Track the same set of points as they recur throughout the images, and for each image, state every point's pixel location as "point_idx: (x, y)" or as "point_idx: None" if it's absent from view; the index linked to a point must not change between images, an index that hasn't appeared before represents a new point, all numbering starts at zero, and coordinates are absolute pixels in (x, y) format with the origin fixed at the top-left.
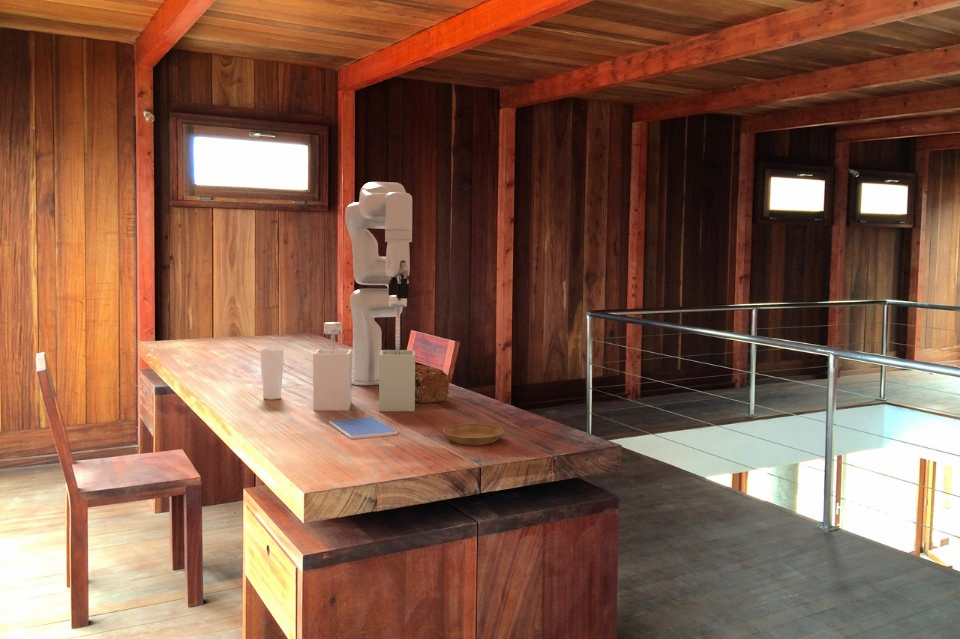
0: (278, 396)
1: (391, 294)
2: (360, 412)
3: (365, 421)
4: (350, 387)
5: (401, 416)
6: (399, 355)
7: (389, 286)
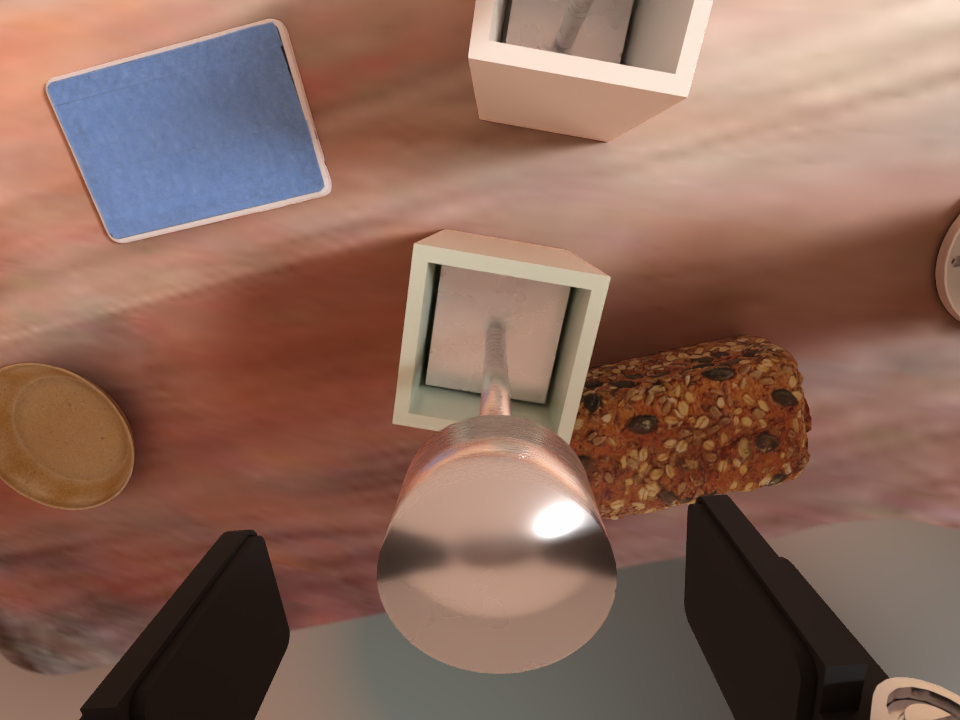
0: None
1: (698, 537)
2: (438, 159)
3: (256, 156)
4: (548, 117)
5: (359, 291)
6: (401, 349)
7: (764, 606)
